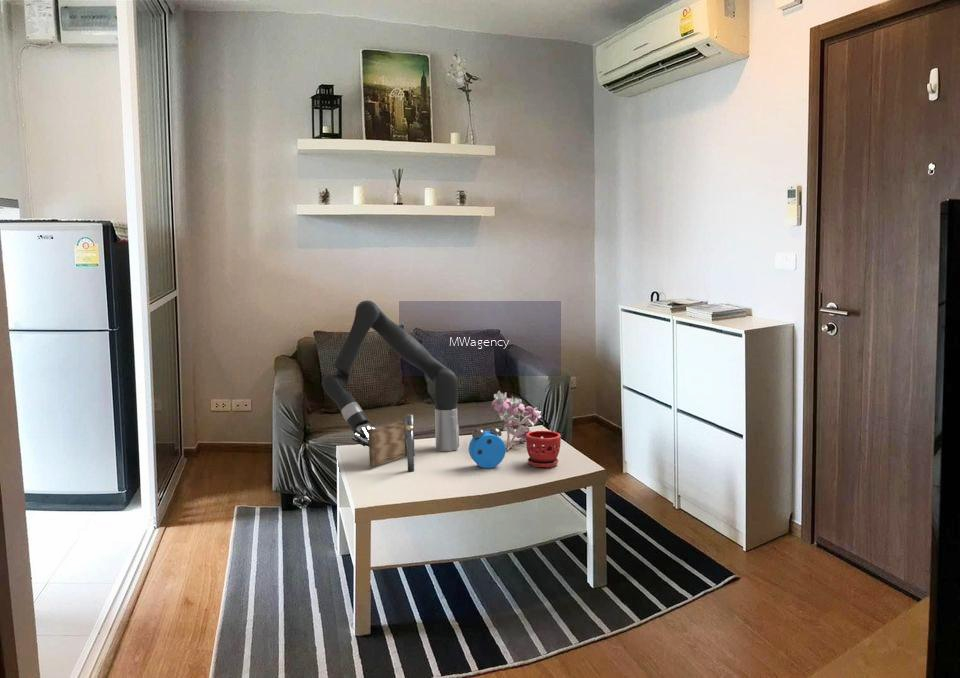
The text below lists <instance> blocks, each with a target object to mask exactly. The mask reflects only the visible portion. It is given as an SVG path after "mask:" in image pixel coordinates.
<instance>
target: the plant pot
mask: <svg viewBox="0 0 960 678" xmlns="http://www.w3.org/2000/svg"><path fill="white" fill-rule="evenodd" d="M561 437H562V435H561V434H560V433H559V432H557V431H551V430H534V431H532V432H529V433H527V434H526V440H525V443H526V444H525V446H526V451H527V455H528V458H527V462H528V463H529V465H531V466H533V467H535V468H539V467H547V468H551V467H554V466H556V465H557V464H558V463H559V459H558V458H557V457H558V456H559V454H560V449H561V443H562V442H561V439H562V438H561Z"/></svg>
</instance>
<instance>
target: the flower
mask: <svg viewBox="0 0 960 678" xmlns="http://www.w3.org/2000/svg"><path fill="white" fill-rule="evenodd" d="M511 397H512V398H511ZM511 397H510V398H508V397H507V391H506V392H504V393H503V392H501V390H498V391H497V393H494V394H493V398H494V399H493V400H492V402H491V406H492V407H493V409H494V411H496V412H497V414H498V416H499V417H500V421H503V422H504V425H503V429H502V431H506V434H507V439H506V440H503V442H504V444H505V448H506V451H507V450H508V451H509V449H510V448H512V447H513V446H512V445H513V443H514V440H515V438H517V439H519V440H518V441H520V442H526V434H527V433H529V432H533V431H531V430H530V427H529V426H532V427H534V426H535V425H536V424H537V423H538V421H539V419H542V415H541V414H542V411H541V410H540V411H539V410H538V409H537V408H538V407H534V408H533V407H532V406H529V405H528V406H526V407H525V404H523V402H522V399H520V398H518V397H517V398H516V397H514V396H513V395H511ZM519 409H520V410H519ZM520 411H522V412H520ZM515 416H518V418H517V417H515ZM520 416H521V417H523V418H522V420H521V421H520V419H521V418H520ZM524 424H525V425H524ZM514 427H516V430H515V429H514ZM510 434H511V436H512V438H510V437H511V436H510ZM510 439H511V440H510Z"/></svg>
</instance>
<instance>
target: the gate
mask: <svg viewBox="0 0 960 678" xmlns="http://www.w3.org/2000/svg"><path fill="white" fill-rule="evenodd" d="M406 426H407V418H403V419H402V420H401V421H397V422H393V423H389V424H387V425H384V426H379V427H376V428H375V427H374V428H375V429H372V428H373V427H372V428H371V429H368V435H369V447H368V457H369V460H368V461H369V467H372V468H374V467H376V466H380V465H382V464H385V463H388V462H391V461H394V460H397V459H401V458H403V457H407V431H406Z"/></svg>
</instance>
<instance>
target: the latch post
mask: <svg viewBox="0 0 960 678" xmlns="http://www.w3.org/2000/svg"><path fill="white" fill-rule="evenodd" d="M406 434H407V456H406V457H407V461H406V462H407V472H409V473H412V472H415V457H414V453H415V447H414V448H413V426H412V425H408V426H407V425H406Z"/></svg>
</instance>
